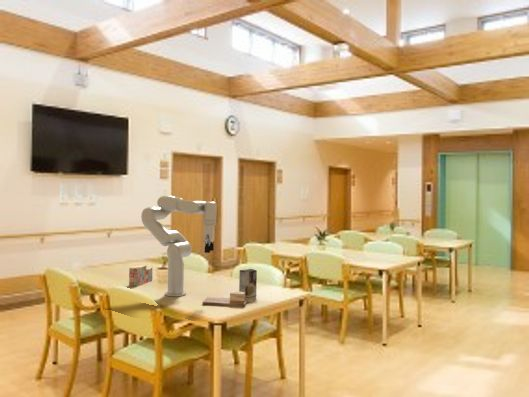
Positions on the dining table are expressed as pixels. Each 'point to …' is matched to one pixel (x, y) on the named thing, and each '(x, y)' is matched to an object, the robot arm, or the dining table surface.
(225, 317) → the dining table surface
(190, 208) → the robot arm
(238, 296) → the block
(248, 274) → the coffee box
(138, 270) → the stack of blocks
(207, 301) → the board
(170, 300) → the dining table surface
